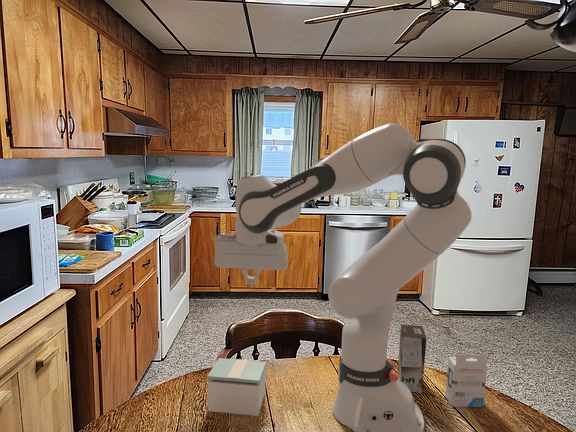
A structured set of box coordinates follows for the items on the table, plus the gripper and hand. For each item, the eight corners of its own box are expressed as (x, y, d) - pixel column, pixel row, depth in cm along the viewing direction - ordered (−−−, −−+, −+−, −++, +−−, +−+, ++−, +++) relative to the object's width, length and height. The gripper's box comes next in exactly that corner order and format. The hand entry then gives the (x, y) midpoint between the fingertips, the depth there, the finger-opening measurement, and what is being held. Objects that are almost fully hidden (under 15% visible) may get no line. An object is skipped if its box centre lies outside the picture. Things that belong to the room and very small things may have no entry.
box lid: (266, 364, 109) (266, 361, 109) (259, 383, 99) (259, 380, 99) (218, 360, 110) (218, 357, 110) (207, 379, 100) (207, 375, 100)
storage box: (265, 392, 110) (265, 365, 109) (258, 416, 100) (258, 386, 99) (219, 388, 111) (219, 361, 110) (208, 411, 102) (207, 381, 100)
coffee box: (423, 393, 111) (427, 338, 109) (399, 390, 113) (402, 336, 110) (419, 376, 120) (422, 325, 118) (397, 373, 121) (400, 323, 119)
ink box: (475, 396, 110) (480, 346, 108) (483, 407, 106) (489, 355, 103) (444, 395, 110) (448, 345, 108) (451, 407, 106) (456, 354, 103)
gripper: (211, 235, 107) (211, 285, 109) (287, 238, 105) (286, 289, 107) (217, 231, 113) (217, 278, 115) (289, 233, 111) (288, 281, 113)
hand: (251, 283), depth 111 cm, fingers closed
